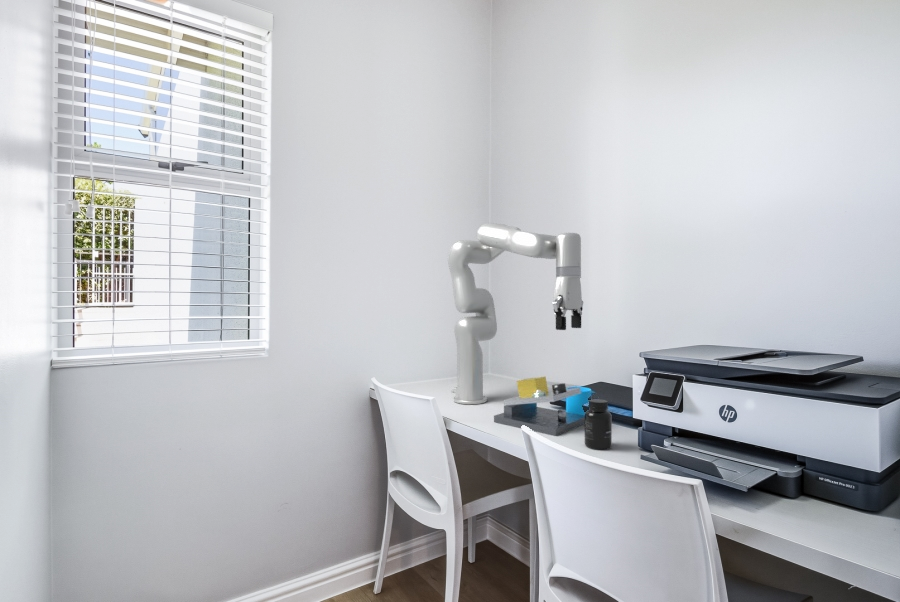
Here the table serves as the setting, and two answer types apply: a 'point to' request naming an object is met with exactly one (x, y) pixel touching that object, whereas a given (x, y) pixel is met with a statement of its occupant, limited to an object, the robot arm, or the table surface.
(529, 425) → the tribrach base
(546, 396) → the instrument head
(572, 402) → the mug
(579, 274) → the robot arm
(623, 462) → the table surface
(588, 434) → the supplement bottle
